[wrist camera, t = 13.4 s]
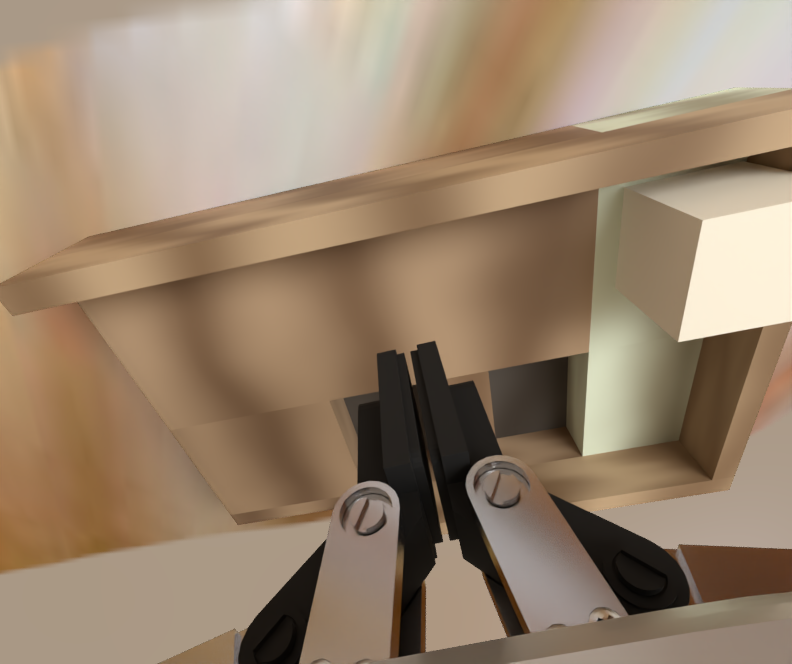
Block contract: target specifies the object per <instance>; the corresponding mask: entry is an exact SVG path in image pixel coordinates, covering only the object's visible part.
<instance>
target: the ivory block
mask: <svg viewBox="0 0 792 664" xmlns="http://www.w3.org/2000/svg"><path fill="white" fill-rule="evenodd" d="M615 288H616V289H617V290H618V291H619V292H620V293H622V294H623V295H624V296H625V297H626V298H627V299H629V300H630V301H631V302H632V303H633V304H634V305H636V306H637V307H638V308H639V309H640V310H641V311H642V312H644V313H645V314H646V315H647V316H648V317H649V318H651V319H652V320H653V321H654V322H655V323H656V324H657V325H659V326H660V327H661V328H662V329H663V330H664V331H666V332H667V333H668V334H669V335H670V336H671V337H672V338H674V339H675V340H676V341H677V342H682V341H688V340H693V339H698V338H704V337H709V336H715V335H720V334H725V333H731V332H736V331H742V330H747V329H752V328H758V327H763V326H768V325H774V324H779V323H785V322H790V321H792V172H791V171H787V170H782V169H777V168H773V167H768V166H763V165H759V164H754V163H749V162H745V161H742V162H738V163H733V164H728V165H724V166H719V167H715V168H710V169H705V170H701V171H696V172H692V173H687V174H682V175H678V176H673V177H669V178H664V179H659V180H655V181H650V182H646V183H641V184H636V185H632V186H627V187H624V197H623V207H622V218H621V229H620V240H619V250H618V261H617V272H616V283H615Z"/></svg>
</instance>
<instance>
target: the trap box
mask: <svg viewBox="0 0 792 664" xmlns="http://www.w3.org/2000/svg"><path fill="white" fill-rule="evenodd" d="M742 161H745V162H749V163H754V164H759V165H763V166H768V167H773V168H777V169H782V170H787V171H791V172H792V88H731V89H727V90H723V91H718V92H714V93H710V94H705V95H701V96H697V97H692V98H688V99H684V100H679V101H675V102H671V103H666V104H662V105H658V106H653V107H649V108H645V109H640V110H636V111H632V112H627V113H623V114H619V115H614V116H610V117H606V118H601V119H597V120H593V121H588V122H584V123H580V124H575V125H571V126H567V127H562V128H558V129H554V130H549V131H545V132H541V133H536V134H532V135H528V136H523V137H519V138H514V139H510V140H506V141H501V142H497V143H493V144H488V145H484V146H480V147H475V148H471V149H467V150H462V151H458V152H454V153H449V154H445V155H441V156H436V157H432V158H428V159H423V160H419V161H415V162H410V163H406V164H402V165H397V166H393V167H389V168H384V169H380V170H376V171H371V172H367V173H363V174H358V175H354V176H350V177H345V178H341V179H337V180H332V181H328V182H324V183H319V184H315V185H311V186H306V187H302V188H298V189H293V190H289V191H285V192H280V193H276V194H272V195H267V196H263V197H259V198H254V199H250V200H246V201H241V202H237V203H233V204H228V205H224V206H220V207H215V208H211V209H207V210H202V211H198V212H194V213H189V214H185V215H181V216H176V217H172V218H168V219H163V220H159V221H155V222H150V223H146V224H142V225H137V226H133V227H129V228H124V229H120V230H116V231H111V232H107V233H103V234H98V235H94V236H90V237H87V238H85V239H83V240H81V241H79V242H78V243H76V244H74V245H72V246H70V247H68V248H66V249H64V250H62V251H61V252H59V253H57V254H55V255H53V256H51V257H49V258H47V259H46V260H44V261H42V262H40V263H38V264H36V265H34V266H32V267H30V268H29V269H27V270H25V271H23V272H21V273H19V274H17V275H15V276H13V277H12V278H10V279H8V280H6V281H4V282H2V283H0V302H1V303H2V304H3V305H4V306H5V308H6V309H7V310H8V311H9V312H10V314H11V315H12V316H15V315H20V314H24V313H29V312H33V311H38V310H43V309H47V308H52V307H56V306H61V305H66V304H70V303H75V302H78V304H79V305H80V307H81V308H82V309H83V311H84V312H85V314H86V315H87V316H88V318H89V319H90V321H91V322H92V323H93V325H94V326H95V327H96V329H97V330H98V332H99V333H100V334H101V336H102V337H103V339H104V340H105V341H106V343H107V344H108V345H109V347H110V348H111V350H112V351H113V352H114V354H115V355H116V357H117V358H118V359H119V361H120V362H121V364H122V365H123V366H124V368H125V369H126V370H127V372H128V373H129V375H130V376H131V377H132V379H133V380H134V382H135V383H136V384H137V386H138V387H139V388H140V390H141V391H142V393H143V394H144V395H145V397H146V398H147V400H148V401H149V402H150V404H151V405H152V407H153V408H154V409H155V411H156V412H157V413H158V415H159V416H160V418H161V419H162V420H163V422H164V423H165V425H166V426H167V427H168V429H169V430H170V432H171V433H172V434H173V436H174V437H175V438H176V440H177V441H178V443H179V444H180V445H181V447H182V448H183V450H184V451H185V452H186V454H187V455H188V456H189V458H190V459H191V461H192V462H193V463H194V465H195V466H196V468H197V469H198V470H199V472H200V473H201V475H202V476H203V477H204V479H205V480H206V481H207V483H208V484H209V486H210V487H211V488H212V490H213V491H214V493H215V494H216V495H217V497H218V498H219V500H220V501H221V502H222V504H223V505H224V506H225V508H226V509H227V511H228V512H229V513H230V515H231V516H232V518H233V519H234V520H235V522H236V523H237V524H238V525H241V524H247V523H253V522H259V521H265V520H271V519H277V518H283V517H289V516H295V515H301V514H308V513H314V512H320V511H326V510H332V509H334V508H335V505H336V503H337V501H338V500H339V499H340V497H341V496H342V494H344V493H345V492H346V491H347V490H348V489H350V488H351V487H353V486H355V485H357V469H358V406H359V404H364V403H368V402H373V401H378V400H379V386H378V369H377V353H381V352H385V351H390V350H395V349H396V352H397V354H400V353H404V354H405V358H406V362H407V366H408V370H409V375H410V379H411V383H412V387H413V391H414V395H415V399H416V404H417V408H418V412H419V416H420V420H421V425H422V429H423V434H424V440H425V445H426V451H427V456H428V462H429V467H430V473H431V478H432V484H433V489H434V495H435V500H436V506H437V511H438V516H439V522H440V527H441V533H442V535H443V534H448V530H447V526H446V522H445V517H444V513H443V509H442V505H441V501H440V497H439V493H438V488H437V484H436V480H435V476H434V472H433V468H432V463H431V459H430V454H429V449H428V444H427V438H426V433H425V428H424V423H423V417H422V412H421V407H420V401H419V396H418V391H417V386H416V380H415V375H414V370H413V364H412V359H411V354H410V351H414V350H417V345H418V344H422V343H427V342H431V341H435V342H436V345H437V348H438V351H439V355H440V358H441V361H442V365H443V368H444V371H445V375H446V378H447V381H448V385H453V384H458V383H463V382H468V381H472V380H473V381H474V383H475V385H476V388H477V391H478V393H479V396H480V398H481V401H482V403H483V406H484V408H485V411H486V414H487V416H488V419H489V421H490V424H491V426H492V429H493V432H494V434H495V437H496V439H497V442H498V444H499V447H500V450H501V452H502V455H503V456H510V457H513V458H516V459H519V460H520V461H522V462H524V463H525V464H527V465H528V466H529V467H530V468H531V470H532V471H533V472H534V473H535V475H536V476H537V478H538V479H539V481H540V482H541V484H542V485H543V487H544V488H545V490H546V491H547V492H548V493H550V494H553V495H555V496H557V497H559V498H561V499H563V500H565V501H567V502H569V503H572V504H574V505H576V506H578V507H580V508H582V509H584V510H586V511H588V512H590V511H597V510H603V509H610V508H616V507H622V506H629V505H635V504H642V503H648V502H655V501H661V500H667V499H674V498H680V497H686V496H693V495H699V494H706V493H712V492H718V491H725V490H729V489H730V487H731V484H732V481H733V479H734V476H735V473H736V471H737V468H738V465H739V462H740V460H741V457H742V455H743V452H744V449H745V447H746V444H747V441H748V439H749V436H750V433H751V431H752V428H753V425H754V423H755V420H756V417H757V415H758V412H759V409H760V407H761V404H762V402H763V399H764V396H765V394H766V391H767V388H768V386H769V383H770V380H771V378H772V375H773V372H774V370H775V367H776V364H777V362H778V359H779V356H780V354H781V351H782V348H783V346H784V343H785V340H786V338H787V335H788V332H789V330H790V327H791V325H792V321H790V322H785V323H779V324H774V325H768V326H763V327H758V328H752V329H747V330H742V331H736V332H731V333H725V334H720V335H715V336H709V337H704V338H698V339H693V340H688V341H682V342H677V341H676V340H675V339H674V338H672V337H671V336H670V335H669V334H668V333H667V332H666V331H664V330H663V329H662V328H661V327H660V326H659V325H657V324H656V323H655V322H654V321H653V320H652V319H651V318H649V317H648V316H647V315H646V314H645V313H644V312H642V311H641V310H640V309H639V308H638V307H637V306H636V305H634V304H633V303H632V302H631V301H630V300H629V299H627V298H626V297H625V296H624V295H623V294H622V293H620V292H619V291H618V290H617V289H616V288H615V283H616V272H617V261H618V250H619V240H620V229H621V218H622V207H623V197H624V187H627V186H632V185H636V184H641V183H646V182H650V181H655V180H659V179H664V178H669V177H673V176H678V175H682V174H687V173H692V172H696V171H701V170H705V169H710V168H715V167H719V166H724V165H728V164H733V163H738V162H742Z"/></svg>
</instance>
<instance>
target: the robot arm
mask: <svg viewBox="0 0 792 664" xmlns="http://www.w3.org/2000/svg"><path fill="white" fill-rule="evenodd" d="M410 354H411V359H412V364H413V370H414V375H415V380H416V386H417V391H418V396H419V401H420V407H421V412H422V417H423V423H424V428H425V433H426V438H427V444H428V449H429V454H430V459H431V463H432V468H433V472H434V476H435V480H436V484H437V488H438V493H439V497H440V501H441V505H442V509H443V513H444V517H445V522H446V526H447V530H448V534H449V538H450V540H456V539H459V541H460V546H461V550H462V554H463V558H464V559H465V560H466V561H468V562H469V563H471V564H472V565H474V566H475V567H477V568H478V569H480V570H481V572H482V576H483V579H484V581H485V584H486V586H487V589H488V591H489V594H490V596H491V598H492V601H493V603H494V606H495V608H496V611H497V613H498V616H499V618H500V621H501V623H502V626H503V628H504V631H505V633H506V636H507V638H502V639H497V640H491V641H485V642H480V643H474V644H469V645H464V646H458V647H452V648H447V649H442V650H436V651H431V652H426V583H425V579H426V577H427V576H428V574H429V573H430V571H431V570H432V568H433V567H434V565H435V564H436V563H435V558H437V555H436V548H435V543H440V542H443V539H442V533H441V527H440V522H439V516H438V511H437V506H436V500H435V495H434V489H433V484H432V478H431V473H430V467H429V462H428V456H427V451H426V445H425V440H424V434H423V429H422V425H421V420H420V416H419V412H418V408H417V404H416V399H415V395H414V391H413V387H412V383H411V379H410V375H409V370H408V366H407V362H406V358H405V354H404V353H400V354H397V352H396V349H395V350H390V351H385V352H381V353H377V369H378V386H379V400H378V401H373V402H368V403H364V404H359V406H358V469H357V485H355V486H353V487H351V488H350V489H348V490H347V491H346V492H345V493H344V494H342V496H341V497H340V499H339V500H338V501H337V503H336V505H335V508H334V510H333V513H332V518H331V522H330V527H329V531H328V536H327V539H326V540H325V541H324V542H323V543H322V545H321V546H320V547H319V548H318V549H317V550H316V551H315V553H314V554H313V555H312V556H311V557H310V558H309V559H308V560H307V561H306V562H305V563H304V564H303V565H302V567H301V568H300V569H299V570H298V571H297V572H296V573H295V574H294V575H293V576H292V578H291V579H290V580H289V581H288V582H287V583H286V584H285V585H284V586H283V587H282V589H281V590H280V591H279V592H278V593H277V594H276V595H275V596H274V597H273V598H272V600H271V601H270V602H269V603H268V604H267V605H266V606H265V607H264V608H263V610H262V611H261V612H260V613H259V614H258V615H257V616H256V618H255V619H254V620H253V622H252V623H251V624H250V626H249V627H248V628H247V629H245V630H242V631H240V632H237V631H236V629H233V630H231V631H228V632H226V633H224V634H222V635H220V636H218V637H215V638H213V639H211V640H209V641H206V642H205V643H202V644H200V645H198V646H195V647H193V648H191V649H189V650H187V651H184V652H182V653H180V654H178V655H176V656H173V657H171V658H169V659H167V660H165V661H163V662H160V663H158V664H792V549H777V548H753V547H730V546H706V545H682V544H679V545H678V549H662V548H661V547H659V546H658V545H656V544H655V543H653V542H651V541H649V540H647V539H645V538H643V537H641V536H639V535H636V534H635V533H632V532H631V531H628V530H626V529H624V528H622V527H620V526H618V525H616V524H614V523H612V522H609V521H607V520H605V519H603V518H601V517H599V516H597V515H595V514H593V513H590V512H588V511H586V510H584V509H582V508H580V507H578V506H576V505H574V504H572V503H569V502H567V501H565V500H563V499H561V498H559V497H557V496H555V495H553V494H550V493H548V492H547V491H546V490H545V488H544V487H543V485H542V484H541V482H540V481H539V479H538V478H537V476H536V475H535V473H534V472H533V471H532V470H531V468H530V467H529V466H528V465H527V464H525V463H524V462H522V461H520V460H519V459H516V458H513V457H510V456H503V455H502V452H501V450H500V447H499V444H498V442H497V439H496V437H495V434H494V432H493V429H492V426H491V424H490V421H489V419H488V416H487V414H486V411H485V408H484V406H483V403H482V401H481V398H480V396H479V393H478V391H477V388H476V385H475V383H474V381H473V380H472V381H468V382H463V383H458V384H453V385H448V381H447V378H446V375H445V371H444V368H443V365H442V361H441V358H440V355H439V351H438V348H437V345H436V342H435V341H431V342H427V343H422V344H418V345H417V350H414V351H410Z"/></svg>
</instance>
